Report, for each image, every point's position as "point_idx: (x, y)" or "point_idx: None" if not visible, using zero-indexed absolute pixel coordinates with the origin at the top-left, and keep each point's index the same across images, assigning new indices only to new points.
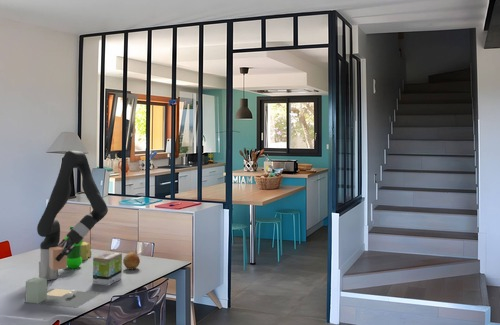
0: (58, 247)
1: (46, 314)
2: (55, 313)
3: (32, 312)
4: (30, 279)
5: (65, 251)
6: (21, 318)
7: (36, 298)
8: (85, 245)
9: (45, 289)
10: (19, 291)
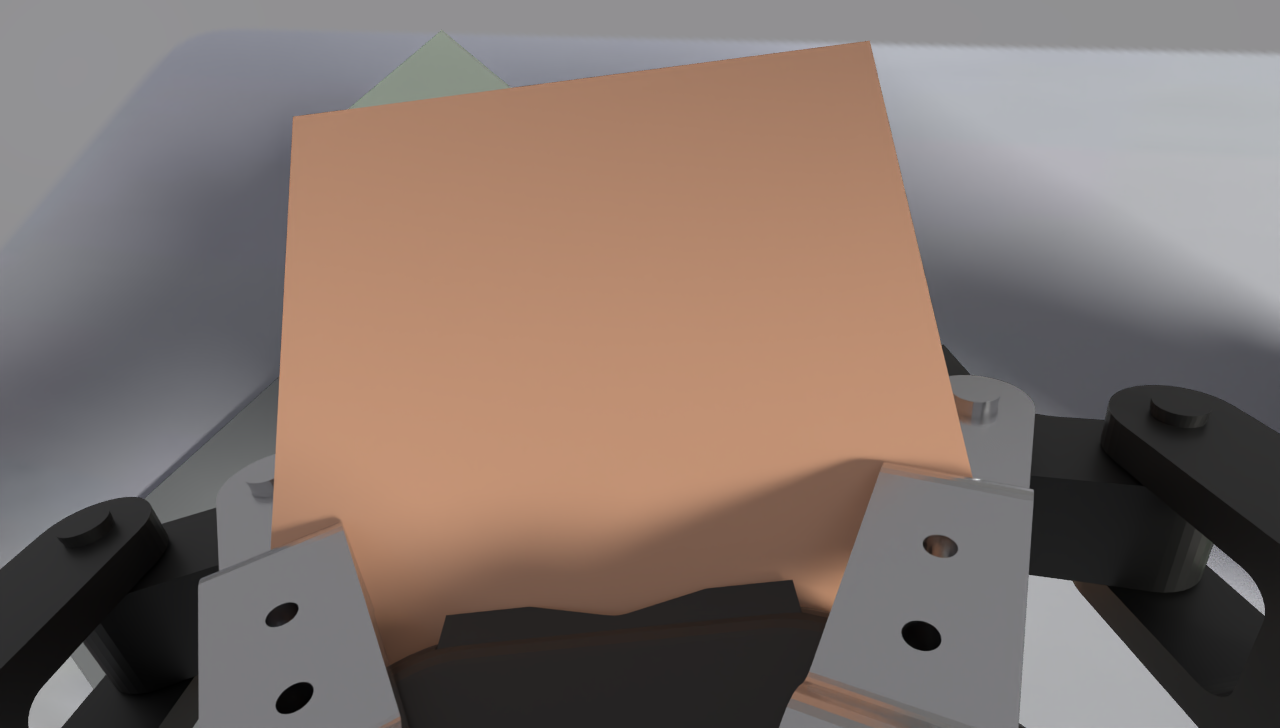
0: (743, 402)
1: (101, 313)
2: (72, 387)
3: (231, 216)
4: (501, 84)
5: (11, 602)
6: (146, 131)
7: None
8: None
9: None
10: (952, 166)
